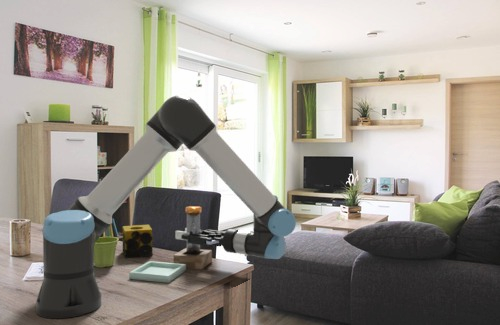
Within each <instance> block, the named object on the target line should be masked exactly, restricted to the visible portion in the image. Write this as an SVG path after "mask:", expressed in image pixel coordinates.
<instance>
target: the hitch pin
mask: <svg viewBox="0 0 500 325" xmlns="http://www.w3.org/2000/svg"><path fill="white" fill-rule="evenodd" d="M202 208H203V207H202V206H193V205H191V206H186V207H185V213H186V228H187V232H192V234H200V230H201V213H202V211H203V210H202ZM186 248H187V254H189V255H199V254H200V249H201V245H198V244H192V243H188V241H186Z"/></svg>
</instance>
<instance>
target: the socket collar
mask: <svg viewBox="0 0 500 325" xmlns="http://www.w3.org/2000/svg"><path fill="white" fill-rule="evenodd" d="M212 261H213V250H212V249H201V248H200V254H199V255H189V254H187V247H185V248H183V249H182V250H180V251H178V252H176V253H175V254H173V263H177V264H186V269H192V270H203V269H204V268H206V267H207V266H208V265H210V264H211V263H212Z"/></svg>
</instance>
